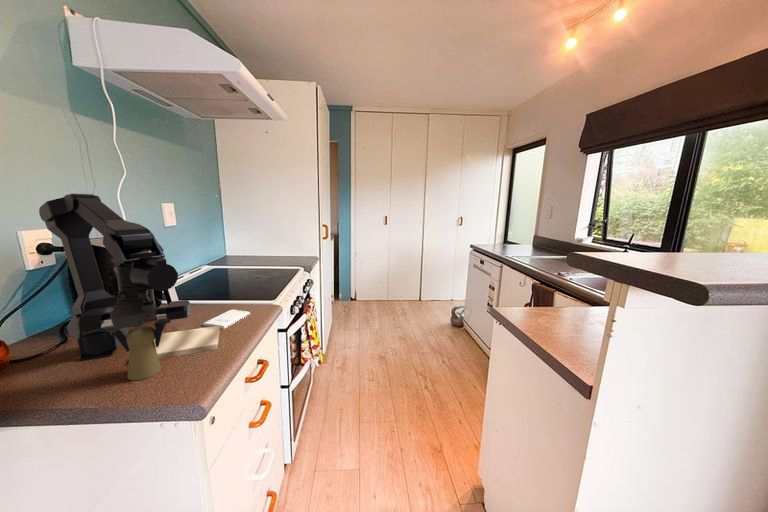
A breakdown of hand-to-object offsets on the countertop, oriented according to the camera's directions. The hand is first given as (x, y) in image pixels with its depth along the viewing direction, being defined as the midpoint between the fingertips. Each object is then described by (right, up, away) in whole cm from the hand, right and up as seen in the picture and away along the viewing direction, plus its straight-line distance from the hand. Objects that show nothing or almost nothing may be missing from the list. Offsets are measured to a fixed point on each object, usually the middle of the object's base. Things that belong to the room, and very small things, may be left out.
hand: (143, 348), depth 64 cm
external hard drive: (+2, -1, +31) cm, 32 cm away
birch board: (-1, -4, +14) cm, 14 cm away
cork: (0, -6, +1) cm, 6 cm away
